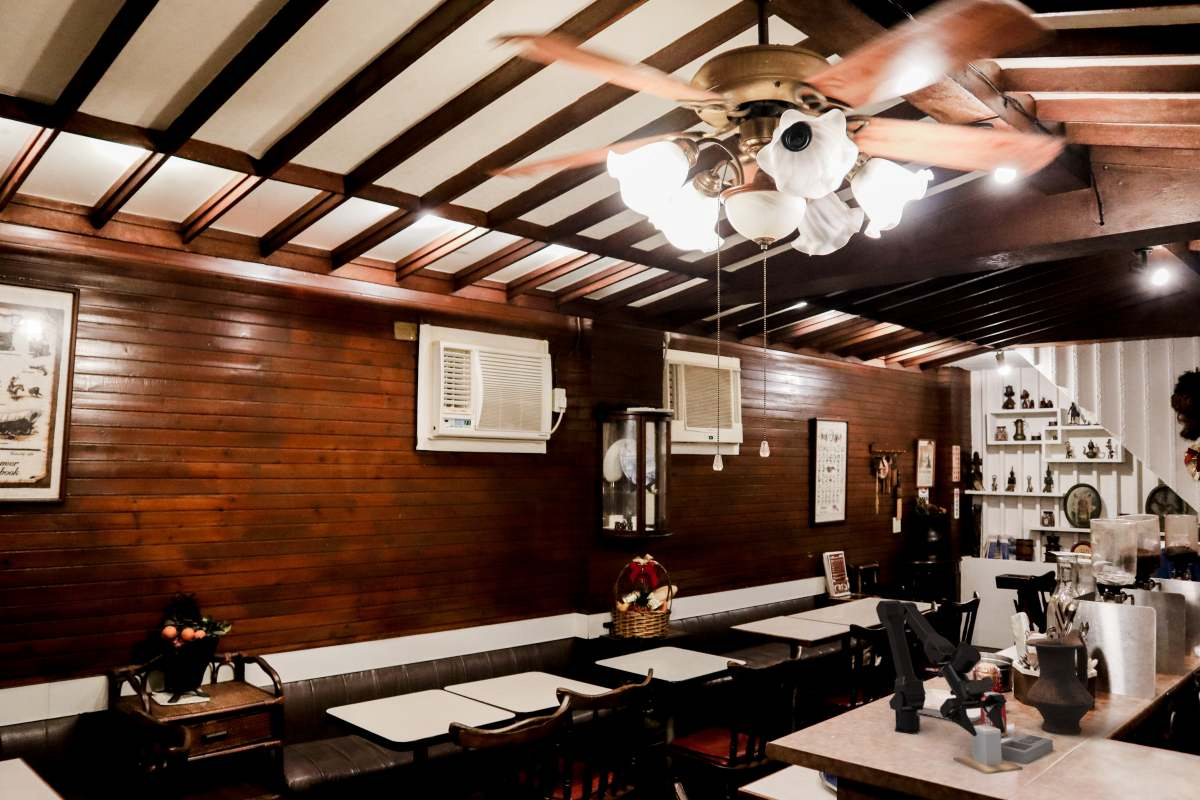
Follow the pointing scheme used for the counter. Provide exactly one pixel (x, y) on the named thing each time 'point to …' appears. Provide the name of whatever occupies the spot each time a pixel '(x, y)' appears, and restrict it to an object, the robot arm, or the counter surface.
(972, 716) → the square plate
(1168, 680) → the counter surface
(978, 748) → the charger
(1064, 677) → the jug
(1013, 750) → the power strip
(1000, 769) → the cork pad
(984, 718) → the soda can
